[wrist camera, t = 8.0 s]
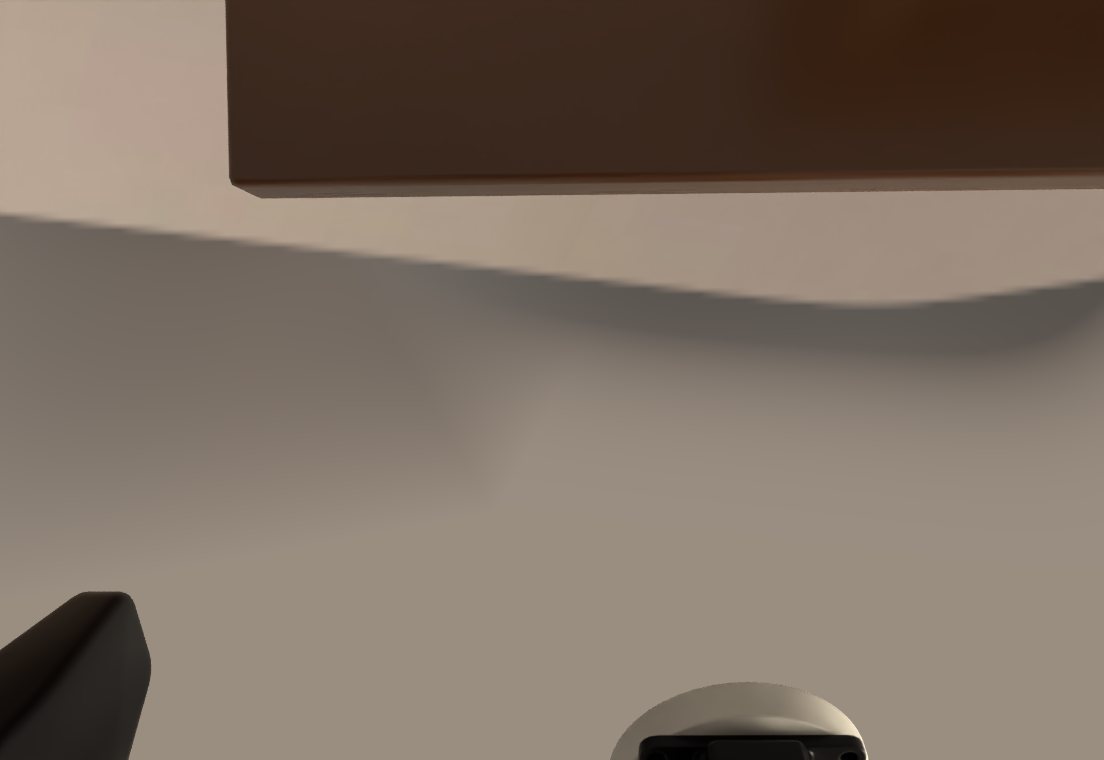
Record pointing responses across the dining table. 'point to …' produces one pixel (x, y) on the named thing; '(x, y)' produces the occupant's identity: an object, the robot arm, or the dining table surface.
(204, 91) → the dining table surface
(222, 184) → the dining table surface
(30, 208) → the dining table surface
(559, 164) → the lid
